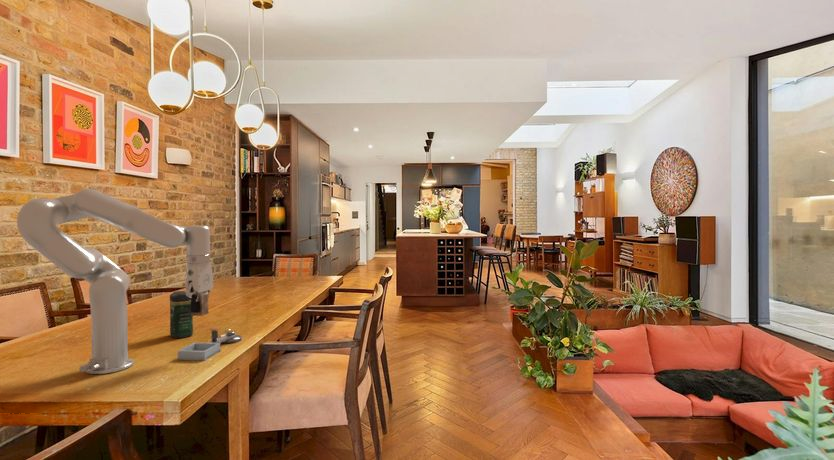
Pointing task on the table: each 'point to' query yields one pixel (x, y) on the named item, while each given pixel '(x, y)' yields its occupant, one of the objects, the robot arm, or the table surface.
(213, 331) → the crank
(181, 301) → the coffee jar
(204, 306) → the block
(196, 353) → the tray
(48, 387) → the table surface
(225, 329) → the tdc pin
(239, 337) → the hub
